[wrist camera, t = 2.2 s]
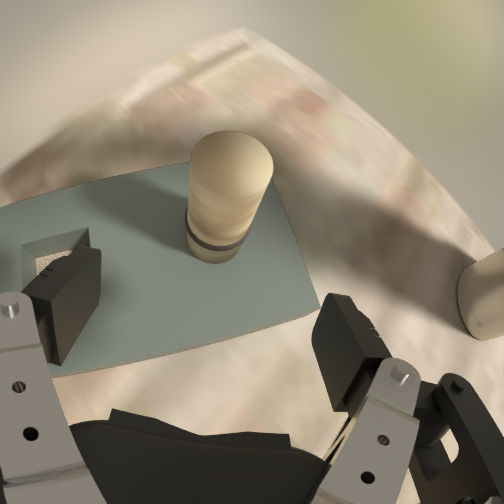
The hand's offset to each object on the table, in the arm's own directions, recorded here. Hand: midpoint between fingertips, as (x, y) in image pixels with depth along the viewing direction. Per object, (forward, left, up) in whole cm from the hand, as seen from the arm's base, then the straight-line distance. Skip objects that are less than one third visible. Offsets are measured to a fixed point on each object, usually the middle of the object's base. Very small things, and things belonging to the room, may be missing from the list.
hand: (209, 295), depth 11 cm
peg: (-3, -6, -11) cm, 13 cm away
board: (+3, -6, -14) cm, 15 cm away
